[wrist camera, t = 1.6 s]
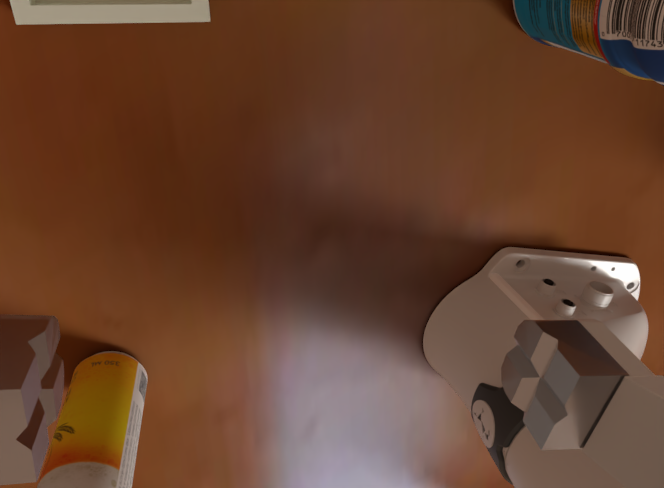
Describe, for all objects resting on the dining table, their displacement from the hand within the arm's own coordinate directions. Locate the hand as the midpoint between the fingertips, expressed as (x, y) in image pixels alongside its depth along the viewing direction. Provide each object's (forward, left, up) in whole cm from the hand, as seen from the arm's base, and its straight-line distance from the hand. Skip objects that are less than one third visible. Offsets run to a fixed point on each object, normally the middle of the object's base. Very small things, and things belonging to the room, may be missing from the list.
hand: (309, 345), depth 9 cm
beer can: (+13, +28, -31) cm, 43 cm away
